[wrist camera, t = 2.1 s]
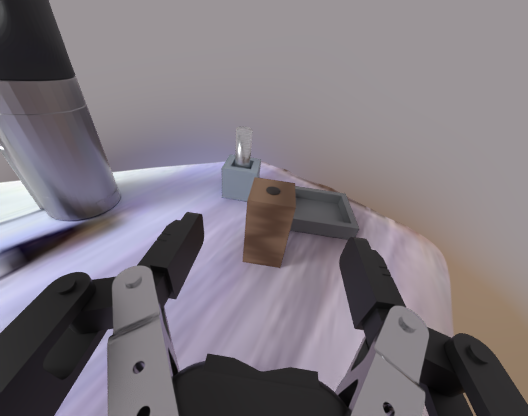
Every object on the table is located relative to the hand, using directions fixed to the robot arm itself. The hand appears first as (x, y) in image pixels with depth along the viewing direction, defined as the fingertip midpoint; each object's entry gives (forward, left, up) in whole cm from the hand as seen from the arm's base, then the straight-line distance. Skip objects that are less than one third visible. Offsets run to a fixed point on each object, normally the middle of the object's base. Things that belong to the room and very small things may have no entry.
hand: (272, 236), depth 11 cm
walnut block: (0, +11, -14) cm, 18 cm away
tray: (+8, +21, -14) cm, 27 cm away
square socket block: (-6, +25, -14) cm, 30 cm away
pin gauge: (-6, +25, -14) cm, 30 cm away
